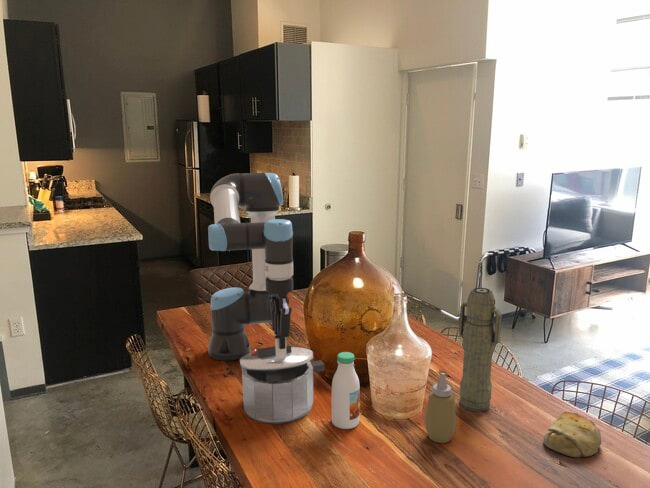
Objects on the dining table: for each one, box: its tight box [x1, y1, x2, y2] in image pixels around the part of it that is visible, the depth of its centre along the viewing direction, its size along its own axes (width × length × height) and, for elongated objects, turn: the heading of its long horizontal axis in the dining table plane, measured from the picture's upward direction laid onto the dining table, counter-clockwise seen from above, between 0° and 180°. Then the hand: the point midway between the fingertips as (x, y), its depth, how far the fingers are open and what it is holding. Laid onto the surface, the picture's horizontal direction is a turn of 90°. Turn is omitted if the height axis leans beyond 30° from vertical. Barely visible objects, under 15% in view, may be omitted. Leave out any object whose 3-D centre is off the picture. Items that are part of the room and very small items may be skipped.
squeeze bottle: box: [424, 372, 457, 444], centre depth 134 cm, size 8×8×18 cm
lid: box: [239, 343, 314, 371], centre depth 149 cm, size 22×21×3 cm
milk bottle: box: [331, 351, 361, 430], centre depth 141 cm, size 8×8×20 cm
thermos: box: [458, 287, 503, 412], centre depth 149 cm, size 9×12×35 cm
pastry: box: [542, 411, 602, 459], centre depth 132 cm, size 14×12×8 cm
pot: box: [241, 360, 326, 425], centre depth 152 cm, size 24×20×12 cm
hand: (281, 357), depth 145 cm, fingers closed
